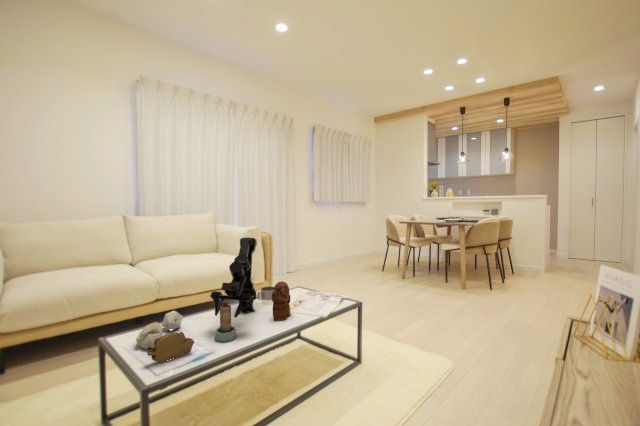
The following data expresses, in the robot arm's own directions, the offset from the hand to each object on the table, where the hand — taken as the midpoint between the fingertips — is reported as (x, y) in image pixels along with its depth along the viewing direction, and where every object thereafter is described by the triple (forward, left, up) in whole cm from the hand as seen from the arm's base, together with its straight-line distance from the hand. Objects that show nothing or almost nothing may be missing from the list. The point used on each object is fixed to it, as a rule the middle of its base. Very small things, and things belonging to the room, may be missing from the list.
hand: (225, 316), depth 137 cm
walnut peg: (0, 0, -9) cm, 9 cm away
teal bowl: (0, 0, -9) cm, 9 cm away
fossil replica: (-6, -29, -10) cm, 31 cm away
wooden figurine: (-13, +29, -10) cm, 33 cm away
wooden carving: (+10, -21, -10) cm, 25 cm away
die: (-20, -21, -10) cm, 30 cm away
